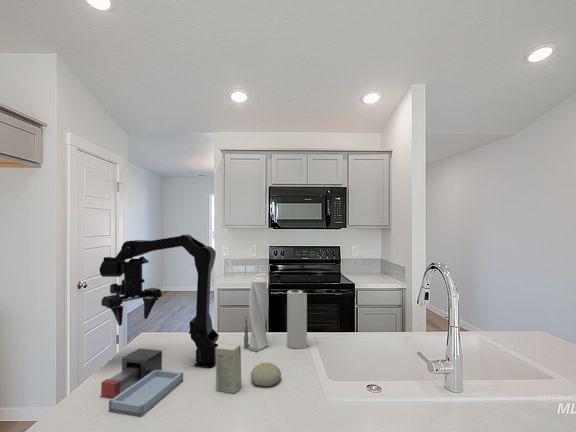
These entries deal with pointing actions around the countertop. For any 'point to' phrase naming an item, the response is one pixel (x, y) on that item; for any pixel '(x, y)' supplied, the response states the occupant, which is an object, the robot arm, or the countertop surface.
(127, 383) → the pin
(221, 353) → the skincare box
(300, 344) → the paper towel roll
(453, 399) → the countertop surface
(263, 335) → the skyscraper
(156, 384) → the tray
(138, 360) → the block
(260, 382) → the sea urchin shell
